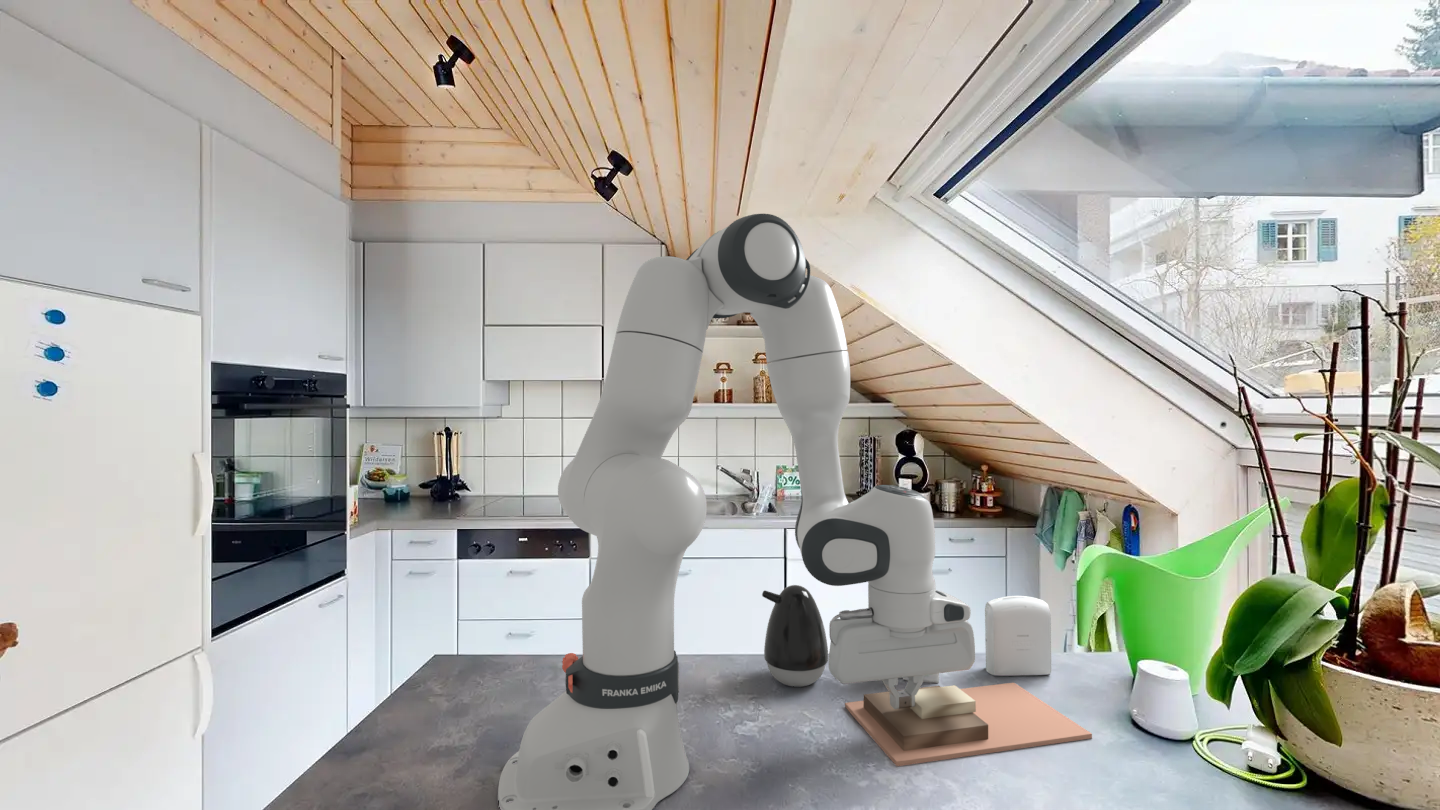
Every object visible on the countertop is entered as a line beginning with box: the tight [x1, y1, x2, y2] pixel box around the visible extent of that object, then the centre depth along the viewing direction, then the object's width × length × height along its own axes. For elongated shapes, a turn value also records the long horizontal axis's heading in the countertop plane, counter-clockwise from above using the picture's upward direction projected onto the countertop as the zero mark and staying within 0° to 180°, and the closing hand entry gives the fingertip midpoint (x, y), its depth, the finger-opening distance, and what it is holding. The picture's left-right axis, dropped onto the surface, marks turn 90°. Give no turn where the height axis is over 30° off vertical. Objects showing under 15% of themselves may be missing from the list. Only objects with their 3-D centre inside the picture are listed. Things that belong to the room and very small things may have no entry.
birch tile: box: [910, 685, 976, 719], centre depth 92 cm, size 8×5×2 cm, turn 102°
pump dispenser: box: [761, 584, 829, 688], centre depth 107 cm, size 10×10×15 cm
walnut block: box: [863, 685, 988, 751], centre depth 92 cm, size 12×12×2 cm
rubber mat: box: [844, 682, 1093, 767], centre depth 93 cm, size 28×16×1 cm, turn 102°
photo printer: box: [984, 595, 1052, 677], centre depth 109 cm, size 10×4×12 cm, turn 89°
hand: (902, 706), depth 91 cm, fingers closed
